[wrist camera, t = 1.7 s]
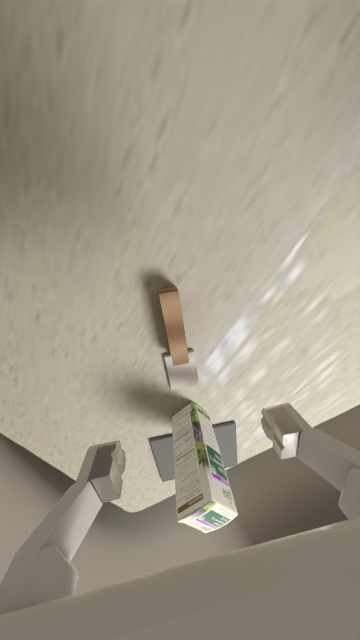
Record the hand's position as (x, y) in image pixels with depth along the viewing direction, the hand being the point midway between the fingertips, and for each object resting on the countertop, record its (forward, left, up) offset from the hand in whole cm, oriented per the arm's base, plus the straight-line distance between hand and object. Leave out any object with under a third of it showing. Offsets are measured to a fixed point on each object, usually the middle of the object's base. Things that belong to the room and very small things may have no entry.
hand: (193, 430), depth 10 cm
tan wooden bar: (0, +5, -18) cm, 19 cm away
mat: (0, +32, -18) cm, 37 cm away
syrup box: (0, +21, -19) cm, 28 cm away
